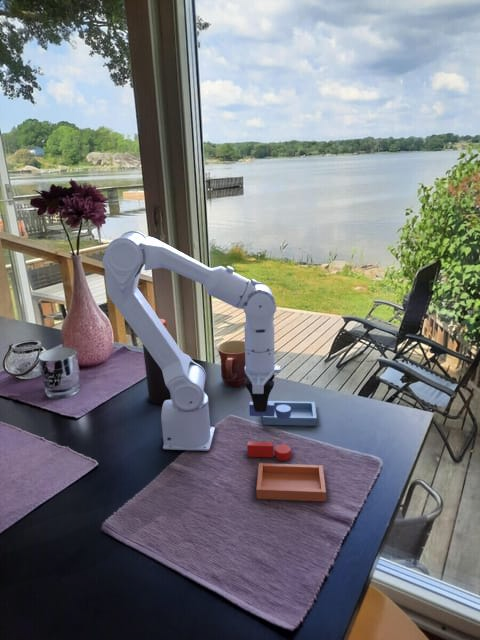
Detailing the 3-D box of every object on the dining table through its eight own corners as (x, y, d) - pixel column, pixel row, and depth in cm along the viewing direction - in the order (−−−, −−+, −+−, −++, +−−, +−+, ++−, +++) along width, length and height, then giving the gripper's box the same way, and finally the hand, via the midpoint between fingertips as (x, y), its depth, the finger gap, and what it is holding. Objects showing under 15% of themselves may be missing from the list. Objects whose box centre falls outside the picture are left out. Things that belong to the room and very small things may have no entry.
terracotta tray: (256, 498, 75) (256, 489, 74) (258, 471, 81) (258, 462, 81) (325, 501, 74) (326, 492, 73) (322, 473, 80) (322, 465, 80)
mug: (223, 374, 120) (221, 339, 117) (255, 376, 118) (254, 341, 115) (212, 396, 109) (209, 358, 106) (246, 398, 107) (245, 360, 104)
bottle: (143, 402, 107) (134, 325, 101) (158, 389, 113) (151, 315, 106) (167, 407, 105) (159, 328, 98) (181, 393, 111) (175, 318, 104)
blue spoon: (249, 418, 89) (249, 406, 88) (250, 410, 92) (250, 399, 91) (290, 419, 88) (290, 407, 87) (290, 411, 91) (290, 400, 90)
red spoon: (247, 459, 85) (246, 447, 84) (248, 449, 88) (248, 438, 87) (290, 460, 84) (290, 449, 83) (290, 451, 87) (290, 439, 86)
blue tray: (262, 424, 96) (262, 417, 96) (264, 407, 103) (264, 400, 102) (316, 425, 95) (316, 418, 94) (314, 408, 102) (314, 401, 101)
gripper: (279, 362, 78) (279, 428, 82) (280, 333, 92) (280, 391, 96) (240, 362, 79) (242, 427, 83) (247, 333, 92) (248, 390, 97)
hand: (260, 408), depth 90 cm, fingers closed on blue spoon
